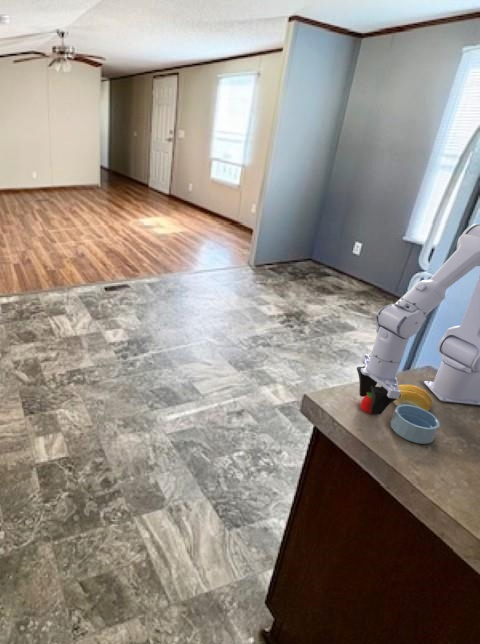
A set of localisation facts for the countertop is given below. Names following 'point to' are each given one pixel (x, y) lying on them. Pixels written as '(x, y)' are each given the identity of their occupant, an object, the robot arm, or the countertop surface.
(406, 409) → the bowl
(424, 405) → the bread roll
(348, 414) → the countertop surface
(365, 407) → the strawberry
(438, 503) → the countertop surface
